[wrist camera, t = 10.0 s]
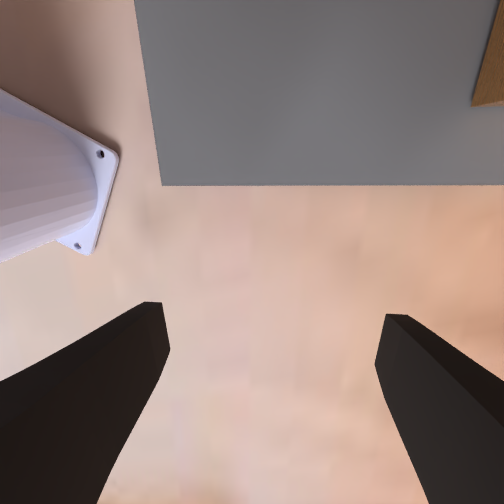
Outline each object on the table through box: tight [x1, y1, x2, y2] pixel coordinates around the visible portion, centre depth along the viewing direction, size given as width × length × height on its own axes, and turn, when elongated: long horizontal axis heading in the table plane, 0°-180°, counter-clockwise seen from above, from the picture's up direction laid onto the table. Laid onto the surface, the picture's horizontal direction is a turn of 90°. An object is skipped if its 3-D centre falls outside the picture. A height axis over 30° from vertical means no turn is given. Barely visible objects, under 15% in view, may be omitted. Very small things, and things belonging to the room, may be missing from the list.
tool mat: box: [134, 0, 504, 186], centre depth 10 cm, size 24×12×6 cm, turn 91°
